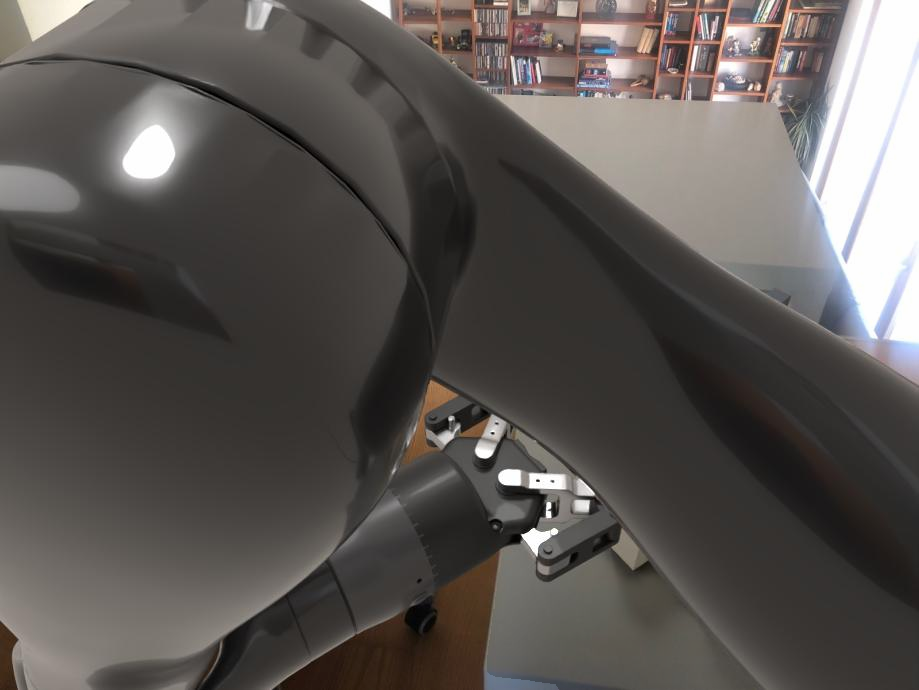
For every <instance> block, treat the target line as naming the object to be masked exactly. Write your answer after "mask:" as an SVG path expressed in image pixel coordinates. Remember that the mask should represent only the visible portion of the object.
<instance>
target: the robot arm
mask: <svg viewBox="0 0 919 690" xmlns="http://www.w3.org/2000/svg"><path fill="white" fill-rule="evenodd" d="M766 294H767V293H764V292H763V291H762V290H760V289H758V288H757V287H755V286H753V285H752V284H751V283H749V282H747V281H745V280H744V279H742V278H740V277H738V276H737V275H735V274H733V273H732V272H730V271H728V270H727V269H725V268H724V267H723V266H721V265H720V264H718V263H717V262H716V261H714V260H712V259H711V258H709V256H706V255H705V254H703V253H702V252H701V251H699V250H697V249H696V248H695V247H693V246H692V245H690V244H689V243H688V242H686V241H684V240H683V239H682V238H680V237H679V236H678V235H676V234H675V233H674V232H672V231H671V230H670V229H669V228H667V227H665V226H664V225H662V223H660V222H659V221H657V220H656V219H655V218H653V217H652V216H651V215H650V214H648V213H646V212H645V211H643V210H642V209H641V208H639V207H638V206H637V205H636V204H634V203H633V202H632V201H630V200H629V199H628V198H627V197H626V196H624V195H622V193H620V192H619V191H618V190H616V189H615V188H614V187H612V186H611V185H610V184H608V183H607V182H606V181H604V180H603V179H602V178H601V177H599V176H598V175H597V174H595V173H594V171H591V169H589V168H588V167H586V165H584V164H583V163H581V162H580V161H579V160H578V159H576V158H574V157H573V156H572V155H570V154H569V153H568V152H567V151H566V150H564V149H563V148H562V147H560V146H559V145H558V144H556V143H555V142H554V141H552V140H551V139H550V138H549V137H547V136H546V135H545V134H544V133H542V131H540V130H538V129H537V128H536V127H534V126H533V125H531V123H529V122H528V121H526V120H525V119H524V118H523V117H522V116H520V115H519V114H518V113H516V112H515V111H514V110H513V109H511V108H510V107H509V106H508V105H507V104H505V103H504V102H503V101H501V100H500V99H499V98H498V97H496V96H495V95H493V94H492V93H491V92H490V91H489V90H487V88H486V87H484V86H482V85H481V84H479V82H477V81H476V80H475V79H474V78H472V77H471V76H469V75H468V74H467V73H466V72H464V71H463V70H462V69H460V68H459V67H458V66H456V65H455V64H454V63H452V62H451V61H450V60H448V59H447V58H446V57H445V56H443V55H442V54H441V53H439V52H438V51H437V50H435V49H434V48H433V47H431V46H430V45H429V44H428V43H426V42H425V41H423V40H422V39H420V38H419V37H418V36H416V35H415V34H413V33H412V32H411V31H409V30H408V29H406V28H405V27H403V26H402V25H400V24H399V23H397V21H394V20H393V19H391V18H390V17H389V16H387V15H385V14H384V13H382V12H381V11H379V10H378V9H376V8H374V7H373V6H372V5H369V4H368V3H366V2H364V0H91V1H90V2H88V3H87V4H85V5H84V6H83V7H82V8H81V9H80V10H78V12H77V13H75V14H73V15H72V16H70V17H68V18H67V19H66V20H64V21H62V22H61V23H60V24H58V25H57V26H55V27H53V28H52V29H50V30H49V31H47V32H46V33H43V34H42V35H41V36H39V37H38V38H36V39H34V40H33V41H31V42H30V43H28V44H27V45H25V46H23V47H22V48H21V49H19V50H18V51H16V52H13V54H10V55H9V56H8V57H6V58H5V59H3V60H2V61H1V62H0V622H1V623H2V624H3V625H4V626H5V627H6V628H7V629H8V630H9V631H10V632H11V633H12V634H13V635H14V636H15V637H16V638H17V639H18V640H17V642H16V643H15V645H14V646H13V649H12V654H11V661H12V667H13V673H14V679H15V683H16V686H17V690H273V689H274V688H276V687H277V686H278V685H280V684H281V683H282V682H283V681H285V680H286V679H287V678H289V677H291V676H292V675H293V674H295V673H296V672H299V670H301V669H303V668H304V667H306V666H308V665H309V664H311V662H313V661H315V660H317V659H318V658H320V657H322V656H323V655H325V654H326V653H329V652H330V651H332V650H333V649H334V648H337V647H338V646H340V645H341V644H343V643H344V642H346V641H348V640H349V639H351V638H353V637H354V636H356V635H358V634H360V633H362V632H364V631H366V630H368V629H370V628H373V627H375V626H377V625H379V624H382V623H385V622H386V621H388V620H390V619H393V618H395V617H396V616H398V615H400V614H401V613H403V612H405V611H407V610H408V609H410V608H411V607H413V606H416V605H419V604H421V603H423V602H424V601H425V600H426V599H428V597H429V596H431V595H432V594H434V593H436V592H437V591H439V590H441V589H443V588H444V587H446V586H448V585H449V584H451V583H452V582H455V581H456V580H457V579H459V578H461V577H462V576H464V575H466V574H468V573H469V572H471V571H472V570H474V569H475V568H478V567H479V566H481V565H482V564H484V563H486V562H487V561H488V560H490V559H491V558H492V557H493V556H495V554H497V553H498V552H499V551H501V550H502V549H503V548H506V547H509V546H518V545H521V546H522V548H523V549H524V550H525V551H526V553H527V554H528V556H530V558H531V559H532V560H533V562H534V564H535V576H536V578H537V579H538V580H539V581H541V582H543V583H550V582H553V581H554V580H556V579H558V578H560V577H561V576H563V575H565V574H566V573H568V572H570V571H572V570H574V569H575V568H578V567H579V566H580V565H583V564H584V563H586V562H588V561H589V560H591V559H593V558H595V557H596V556H598V555H600V554H602V553H604V552H605V551H607V550H608V549H610V548H611V547H612V546H614V545H616V544H617V543H618V542H619V540H620V535H621V530H622V528H623V529H624V531H625V532H626V533H627V534H628V536H629V537H630V538H631V539H632V540H633V542H634V543H635V544H636V545H637V547H638V548H639V549H640V550H641V551H642V553H643V554H644V555H645V556H646V558H647V559H648V562H649V563H650V564H651V565H652V567H653V568H654V569H655V571H656V572H657V574H659V576H660V577H661V578H662V580H663V581H664V583H665V584H666V585H667V586H668V588H669V589H670V590H671V591H672V592H673V594H674V595H675V596H676V598H677V599H678V600H679V601H680V603H681V604H682V605H683V606H684V608H685V609H686V610H687V611H688V613H689V614H690V615H691V616H692V617H693V618H694V620H695V621H696V622H697V623H698V624H699V625H700V627H701V628H702V629H703V630H704V632H705V633H706V634H707V635H709V636H708V637H710V638H711V640H712V641H713V642H714V644H716V645H717V647H718V648H719V649H720V650H721V651H722V653H724V654H725V656H726V657H727V658H728V659H729V660H730V661H731V662H732V663H733V664H734V665H735V666H736V667H737V668H738V670H739V671H740V672H741V673H742V674H743V675H744V676H746V678H747V679H748V680H749V681H750V682H751V683H752V684H753V685H754V686H755V687H756V688H757V689H758V690H919V384H917V383H915V382H914V381H912V380H911V379H909V378H907V377H905V376H904V375H902V374H901V373H899V372H898V371H896V370H894V369H893V368H891V367H890V366H889V365H886V363H883V362H882V361H881V360H880V359H878V358H876V357H874V356H872V355H870V354H869V353H867V352H866V351H864V350H863V349H861V348H859V347H857V346H855V345H854V344H852V343H851V342H849V341H847V340H846V339H845V338H842V337H841V336H839V335H837V334H836V333H834V332H832V331H831V330H829V329H827V328H825V327H824V326H822V325H821V324H819V323H817V322H816V321H814V320H812V319H810V318H809V317H807V316H805V315H804V314H802V313H800V312H798V311H796V310H795V309H793V308H791V307H789V305H788V306H786V305H784V304H782V303H780V302H779V301H777V300H775V299H773V298H772V297H770V296H768V295H766ZM431 381H432V382H434V383H436V384H437V385H440V386H441V387H443V388H445V389H447V390H449V391H450V392H452V393H454V394H456V395H457V396H455V397H453V398H451V399H449V400H448V401H446V402H444V403H442V404H441V405H439V406H437V407H435V408H433V409H432V410H430V411H428V412H427V413H425V414H424V417H423V421H424V435H425V443H426V445H427V446H428V447H430V448H434V449H435V448H439V449H440V450H430V451H427V452H425V453H423V454H421V455H418V456H417V457H415V458H413V459H411V460H409V461H408V462H406V463H403V460H404V458H405V456H406V454H407V452H408V450H409V447H410V445H411V442H412V439H413V437H414V435H415V433H416V431H417V427H418V425H419V422H420V419H421V415H422V411H423V409H424V406H425V403H426V396H427V393H428V390H429V385H430V382H431ZM486 420H488V421H487V423H486V426H485V428H484V430H483V432H482V435H481V436H461V435H462V434H463V433H465V432H467V431H468V430H471V429H472V428H474V427H475V426H477V425H479V424H481V423H483V422H484V421H486ZM515 430H517V431H519V432H520V433H521V434H523V435H524V436H526V437H527V438H529V439H531V440H532V441H534V442H535V443H536V444H537V445H539V446H540V447H541V448H543V449H544V450H545V451H546V452H547V453H548V454H550V455H551V456H553V457H554V458H555V459H556V460H558V461H559V462H560V463H561V464H562V465H563V466H564V467H565V468H567V470H568V471H570V473H571V474H572V475H574V477H576V478H573V476H572V475H571V474H568V473H551V472H549V473H548V469H547V467H546V466H545V465H544V464H543V463H542V462H541V461H540V460H539V459H537V458H535V457H533V456H532V455H530V453H529V452H528V449H527V448H526V446H525V445H524V444H523V442H521V441H520V439H518V438H516V439H512V438H513V435H514V433H515ZM402 463H403V464H402ZM549 495H554V496H557V499H556V500H555V501H547V499H548V496H549ZM572 520H579V521H578V522H576V523H574V524H572V525H570V526H569V527H567V528H565V529H563V530H561V531H559V530H558V529H557V528H553V527H552V528H551V529H550V530H548V531H540V530H539V531H538V530H537V528H538V526H539V524H540V523H547V524H567V523H569V522H570V521H572ZM217 651H218V653H217ZM216 653H217V656H216V659H215V661H214V663H213V665H212V667H211V668H210V670H209V672H208V673H207V674H206V671H208V668H209V666H210V664H211V663H212V660H213V659H214V657H215V655H216ZM205 674H206V676H205ZM204 676H205V677H204ZM203 677H204V678H203Z"/></svg>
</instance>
